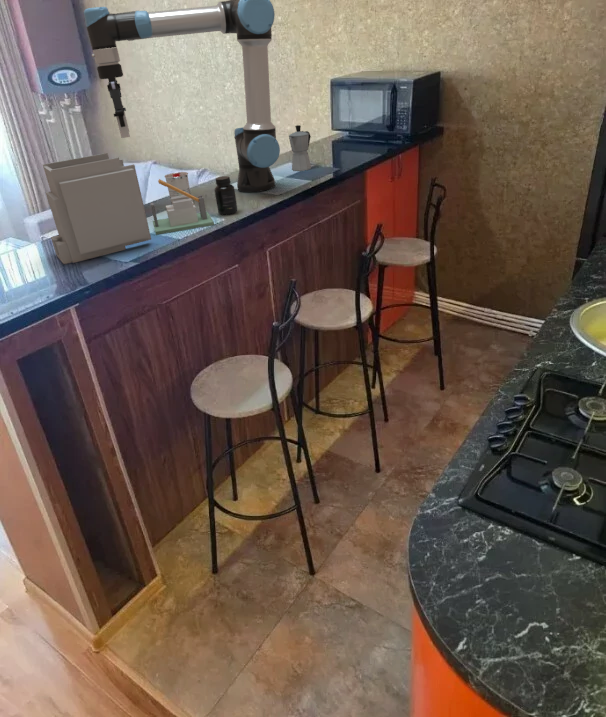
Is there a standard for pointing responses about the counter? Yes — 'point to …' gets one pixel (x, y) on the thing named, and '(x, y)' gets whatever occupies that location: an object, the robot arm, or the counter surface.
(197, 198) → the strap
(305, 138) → the coffee maker
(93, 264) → the counter surface
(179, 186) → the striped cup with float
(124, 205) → the grey layered block
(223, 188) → the supplement bottle
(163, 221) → the board
